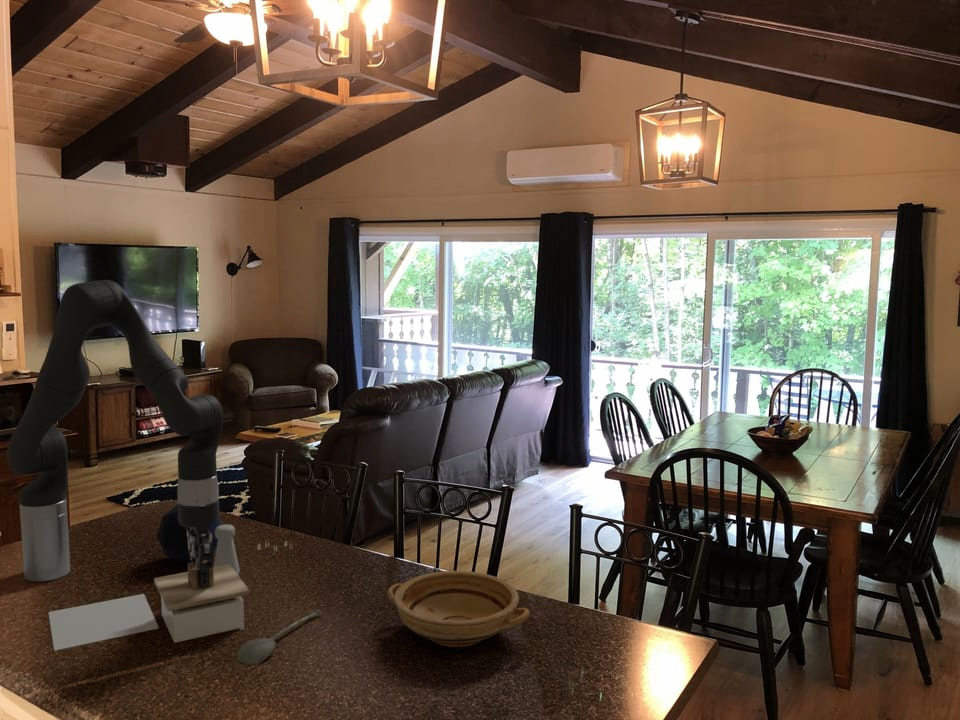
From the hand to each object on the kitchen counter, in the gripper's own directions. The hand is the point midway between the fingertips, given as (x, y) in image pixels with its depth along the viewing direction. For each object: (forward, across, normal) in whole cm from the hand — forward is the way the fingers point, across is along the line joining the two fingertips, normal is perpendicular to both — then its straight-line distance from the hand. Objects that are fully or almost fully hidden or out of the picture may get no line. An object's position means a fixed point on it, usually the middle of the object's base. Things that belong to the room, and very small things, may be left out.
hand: (201, 582), depth 158 cm
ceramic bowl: (+9, +28, +42) cm, 51 cm away
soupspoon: (+9, +13, +12) cm, 20 cm away
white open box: (+9, 0, 0) cm, 9 cm away
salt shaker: (+9, -18, +9) cm, 22 cm away
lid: (+1, 0, 0) cm, 1 cm away
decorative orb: (+9, -35, +5) cm, 36 cm away
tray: (+9, -10, -17) cm, 22 cm away
